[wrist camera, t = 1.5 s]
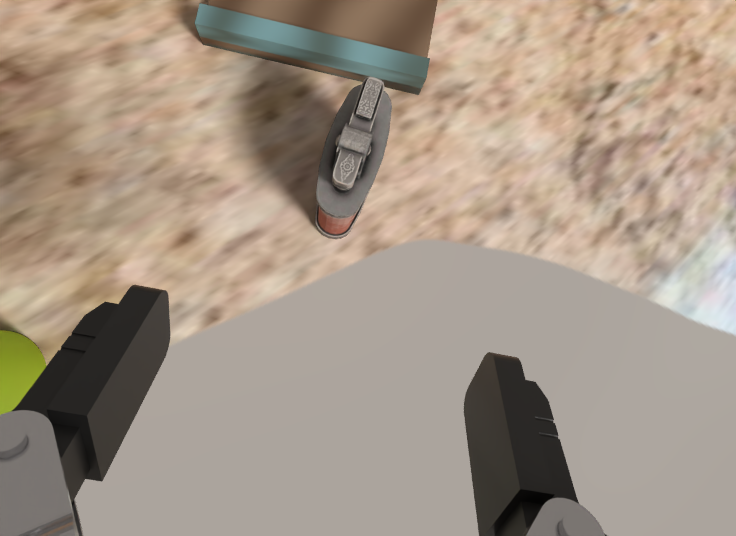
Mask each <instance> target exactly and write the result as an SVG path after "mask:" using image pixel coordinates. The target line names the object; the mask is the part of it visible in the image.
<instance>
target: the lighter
mask: <svg viewBox="0 0 736 536" xmlns="http://www.w3.org/2000/svg"><path fill="white" fill-rule="evenodd" d="M391 110H392V105H391V100H390V98H389V96H388V94H387V93H386V92H385V91H384V83H383V82H382V81H381V80H379V79H377V78H374V77H367V78H365V79H364V81H363V83H362V85H359V86H356V87H354V88H353V89H352V90H351V91H350V92H349V94H348V96H347V97H346V99H345V101H344V103H343V104H342V106H341V108H340V109H339V111H338V113H337V115H336V117H335V120H334V122H333V124H332V127H331V129H330V131H329V134H328V136H327V139H326V142H325V146H324V150H323V154H322V158H321V162H320V166H319V174H318V182H317V190H316V200H317V209H316V217H315V222H316V227H317V229H318V231H319V232H320V233H321V234H322V235H323V236H325V237H327V238H330V239H341V238H343V237H345V236H347V235H348V234H349V232H350V231H351V229H352V227H353V225H354V224H355V222H356V220H357V218H358V216H359V215H360V213H361V210H362V208H363V205H364V203H365V200H366V198H367V196H368V193H369V191H370V189H371V187H372V184H373V182H374V180H375V177H376V175H377V172H378V169H379V167H380V164H381V162H382V159H383V156H384V152H385V148H386V143H387V139H388V135H389V128H390V119H391Z"/></svg>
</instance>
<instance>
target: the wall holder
mask: <svg viewBox="0 0 736 536" xmlns="http://www.w3.org/2000/svg"><path fill="white" fill-rule="evenodd" d="M436 6H437V0H209V2H208V5H206V4H201V3H200V5H199V8H198V12H197V16H196V20H195V25H196V28H197V31H198V33H199V36H200V38H201V41H202V43H203V45H207V46H211V47H216V48H220V49H224V50H229V51H233V52H237V53H241V54H246V55H250V56H254V57H259V58H263V59H267V60H271V61H276V62H280V63H284V64H289V65H293V66H297V67H301V68H306V69H310V70H314V71H319V72H323V73H327V74H331V75H336V76H340V77H344V78H349V79H353V80H357V81H361V82H363V81H364V79H365V78H367V77H374V78H377V79H379V80H381V81H382V82H383V83H384V87H387V88H391V89H396V90H400V91H404V92H409V93H413V94H417V95H419V93H420V91H421V89H422V86H423V84H424V82H425V80H426V77H427V71H428V66H429V60H430V58H427V56H428V50H429V45H430V39H431V34H432V28H433V22H434V17H435V11H436Z"/></svg>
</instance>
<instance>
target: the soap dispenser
mask: <svg viewBox="0 0 736 536" xmlns="http://www.w3.org/2000/svg"><path fill="white" fill-rule="evenodd" d="M45 368H46V363H45V360H44V357H43V355H42V353H41V351H40V350H39V348H38V347H37V346H36V345H35V344H34V343H33V342H32V341H31V340H30V339H28V338H27V337H25V336H23V335H21V334H18V333H15V332H11V331H3V330H0V415H1V414H4V413H7V412H11V411H12V410H13V409H14V408H15V407H16V406H17V405H18V404H19V403H20V401H21V400H22V399H23V397H24V396H25V395H26V393H27V392H28V391H29V389H30V388H31V387H32V385H33V384H34V383H35V381H36V380H37V379H38V377H39V376H40V375H41V373H42V372H43V371H44V369H45Z"/></svg>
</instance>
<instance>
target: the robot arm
mask: <svg viewBox="0 0 736 536" xmlns="http://www.w3.org/2000/svg"><path fill="white" fill-rule="evenodd" d="M169 342H170V319H169V300H168V293H167V291H165V290H160V289H155V288H149V287H144V286H139V285H133V286H131V287H130V288H129V290H128V291H127V293H126V294H125V295H124V297H123V298H122V300H121V301H120V303H119V304H115V303H109V302H104V303H103V304H101V305H100V306H98V307H97V308H95V309H94V310H92V311H91V312H89V313H88V314H86V315H85V316H84V317H83V318H82V320H81V321H80V322H79V324H78V325H77V326H76V328H75V329H74V330H73V332H72V335H71V336H69V337H68V338H67V340H66V341H65V342H64V344H63V345H62V346H61V350H60V351H59V350H58V352H57V353H56V354H55V356H54V357H53V359H52V360H51V361H50V363H49V364H48V365H47V367H46V368H45V369H44V371H43V372H42V373H41V375H40V376H39V377H38V379H37V380H36V381H35V383H34V384H33V385H32V387H31V388H30V389H29V391H28V392H27V393H26V395H25V396H24V397H23V399H22V400H21V401H20V403H19V404H18V405H17V406H16V407H15V408H14V409H13V410H12V411H11V412H7V413H4V414H1V415H0V536H83V531H82V527H81V523H80V518H79V514H78V510H77V505H76V501H75V497H76V495H77V493H78V491H79V489H80V487H81V485H82V484H83V482H84V480H85V479H91V480H97V481H103V479H104V477H105V475H106V473H107V471H108V469H109V467H110V465H111V463H112V461H113V459H114V457H115V455H116V453H117V451H118V449H119V447H120V445H121V443H122V441H123V439H124V437H125V435H126V433H127V431H128V430H129V428H130V426H131V424H132V421H133V420H134V417H135V416H136V414H137V412H138V410H139V408H140V406H141V404H142V402H143V400H144V398H145V396H146V394H147V392H148V390H149V388H150V386H151V384H152V382H153V380H154V378H155V376H156V374H157V372H158V370H159V368H160V367H161V365H162V362H163V361H164V358H165V356H166V353H167V350H168V347H169ZM464 416H465V425H466V433H467V440H468V449H469V456H470V465H471V473H472V481H473V489H474V498H475V506H476V513H477V522H478V530H479V536H607V535H605V534H604V532H603V530H602V528H601V526H600V524H599V523H598V521H597V520H596V519H595V517H594V516H593V515H592V514H591V513H590V512H589V511H588V510H587V509H586V508H584V507H583V506H581V505H580V504H579V502H578V500H577V497H576V494H575V490H574V487H573V483H572V480H571V477H570V473H569V470H568V466H567V463H566V459H565V456H564V453H563V450H562V446H561V442H560V440H559V439H558V432H557V429H556V425H555V423H553V420H554V419H553V415H552V412H551V409H550V405H549V402H548V399H547V398H546V397H545V395H544V394H543V392H542V391H541V389H540V388H539V387H538V385H537V384H536V382H533V381H528V380H525V377H524V373H523V369H522V365H521V362H520V360H519V359H518V358H517V357H512V356H506V355H501V354H495V353H490V352H489V353H487V354H486V355H485V357H484V358H483V360H482V362H481V364H480V366H479V368H478V370H477V372H476V374H475V376H474V378H473V380H472V381H471V383H470V385H469V387H468V389H467V392H466V396H465V402H464Z"/></svg>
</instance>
